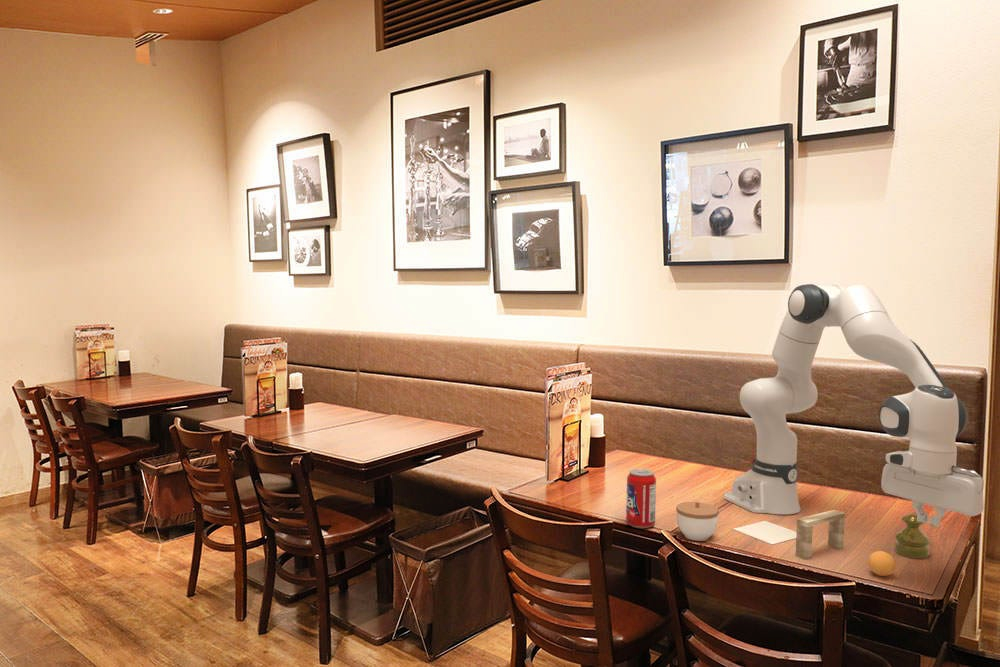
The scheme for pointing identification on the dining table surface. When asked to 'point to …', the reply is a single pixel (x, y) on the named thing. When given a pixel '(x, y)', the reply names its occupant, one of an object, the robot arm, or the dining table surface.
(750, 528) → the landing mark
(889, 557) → the ball
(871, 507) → the dining table surface
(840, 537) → the bridge
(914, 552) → the green tiered figurine
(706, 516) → the lidded jar
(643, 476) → the soda can
